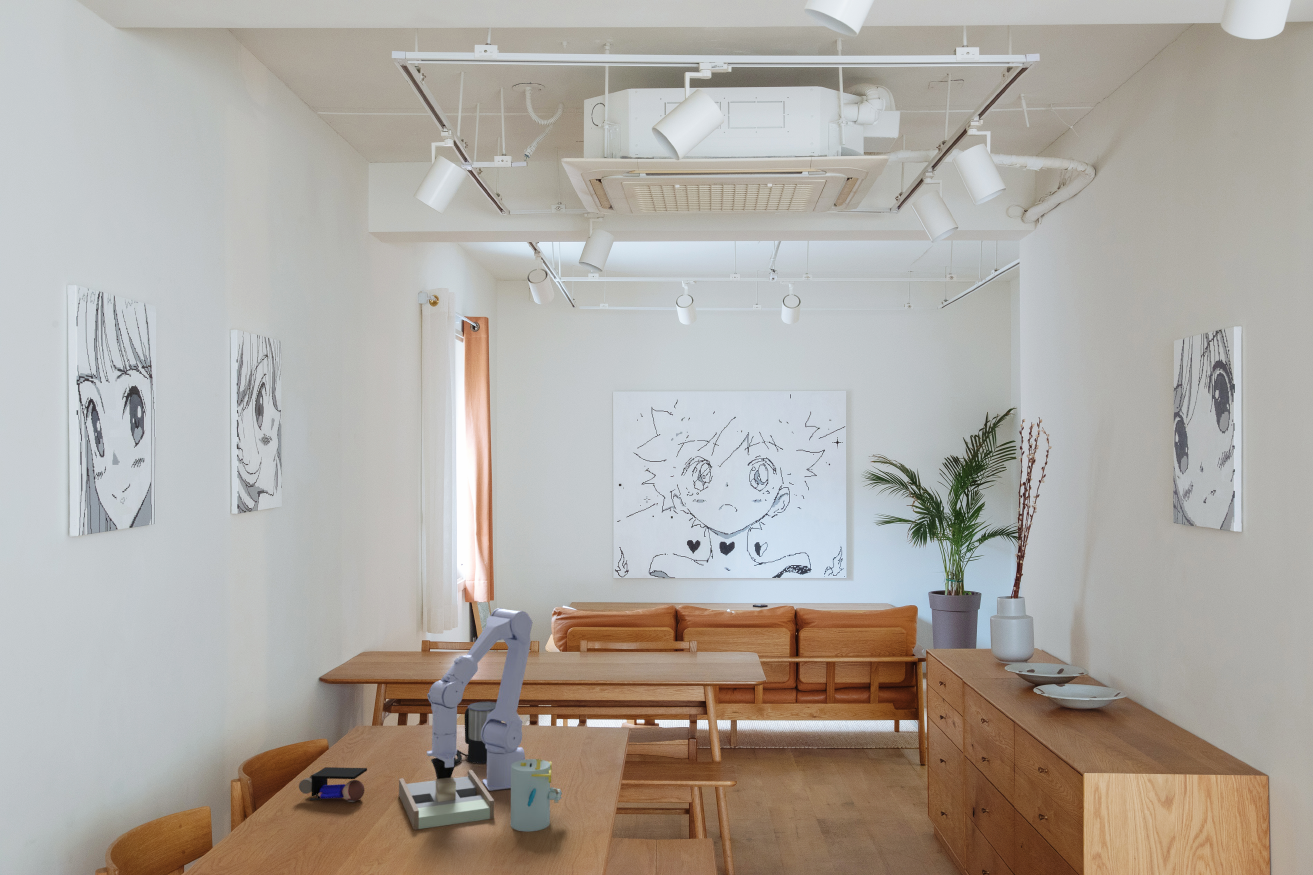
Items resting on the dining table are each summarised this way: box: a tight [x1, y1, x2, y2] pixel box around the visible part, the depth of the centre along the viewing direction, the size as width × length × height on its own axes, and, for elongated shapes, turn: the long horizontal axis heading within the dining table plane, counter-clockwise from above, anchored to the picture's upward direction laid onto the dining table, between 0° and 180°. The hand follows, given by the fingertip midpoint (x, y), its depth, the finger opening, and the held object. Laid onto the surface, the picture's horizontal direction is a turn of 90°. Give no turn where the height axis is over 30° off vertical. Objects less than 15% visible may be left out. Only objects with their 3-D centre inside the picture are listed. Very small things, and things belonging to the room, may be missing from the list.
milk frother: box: [456, 701, 497, 765], centre depth 255 cm, size 14×16×15 cm
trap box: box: [398, 769, 495, 831], centre depth 219 cm, size 18×24×4 cm
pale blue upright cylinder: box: [510, 758, 563, 832], centre depth 209 cm, size 20×12×13 cm, turn 6°
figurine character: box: [298, 766, 368, 803], centre depth 224 cm, size 7×8×15 cm
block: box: [435, 776, 456, 802], centre depth 218 cm, size 4×4×4 cm
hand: (443, 789), depth 221 cm, fingers closed
